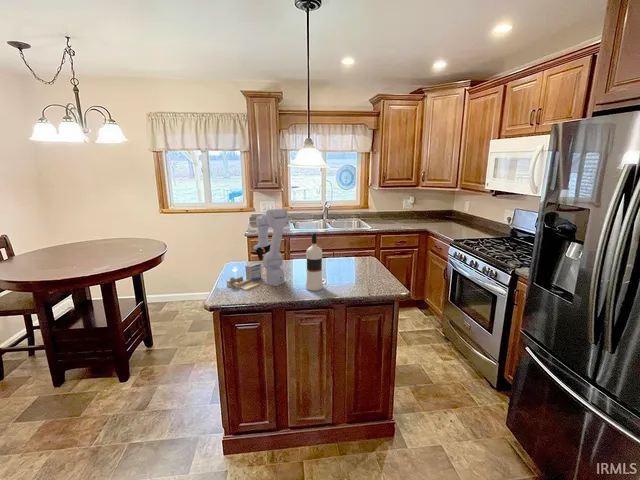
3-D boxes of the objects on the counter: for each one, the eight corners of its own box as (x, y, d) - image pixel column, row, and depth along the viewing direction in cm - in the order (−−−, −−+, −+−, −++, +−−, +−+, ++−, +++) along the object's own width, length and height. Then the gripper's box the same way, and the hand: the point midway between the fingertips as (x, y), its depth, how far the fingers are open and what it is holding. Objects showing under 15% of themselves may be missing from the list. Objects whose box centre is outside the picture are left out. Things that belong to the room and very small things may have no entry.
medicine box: (251, 281, 182) (250, 267, 180) (245, 280, 184) (245, 265, 182) (261, 277, 188) (260, 263, 186) (256, 276, 190) (255, 262, 188)
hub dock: (259, 285, 176) (259, 276, 175) (244, 291, 167) (243, 282, 166) (241, 280, 184) (241, 271, 183) (226, 286, 175) (225, 277, 174)
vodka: (313, 292, 165) (313, 236, 159) (302, 288, 172) (301, 233, 165) (326, 288, 172) (326, 233, 165) (315, 283, 178) (314, 230, 171)
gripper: (266, 233, 196) (267, 255, 199) (249, 237, 184) (250, 260, 187) (275, 235, 192) (276, 256, 195) (257, 239, 180) (259, 262, 184)
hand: (264, 258), depth 191 cm, fingers open, 5 cm apart
